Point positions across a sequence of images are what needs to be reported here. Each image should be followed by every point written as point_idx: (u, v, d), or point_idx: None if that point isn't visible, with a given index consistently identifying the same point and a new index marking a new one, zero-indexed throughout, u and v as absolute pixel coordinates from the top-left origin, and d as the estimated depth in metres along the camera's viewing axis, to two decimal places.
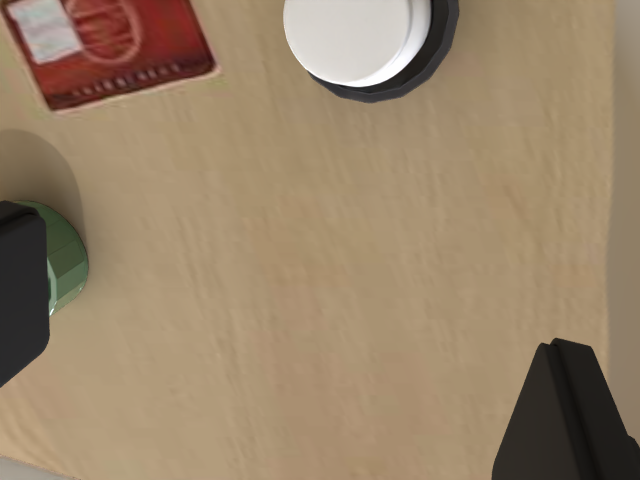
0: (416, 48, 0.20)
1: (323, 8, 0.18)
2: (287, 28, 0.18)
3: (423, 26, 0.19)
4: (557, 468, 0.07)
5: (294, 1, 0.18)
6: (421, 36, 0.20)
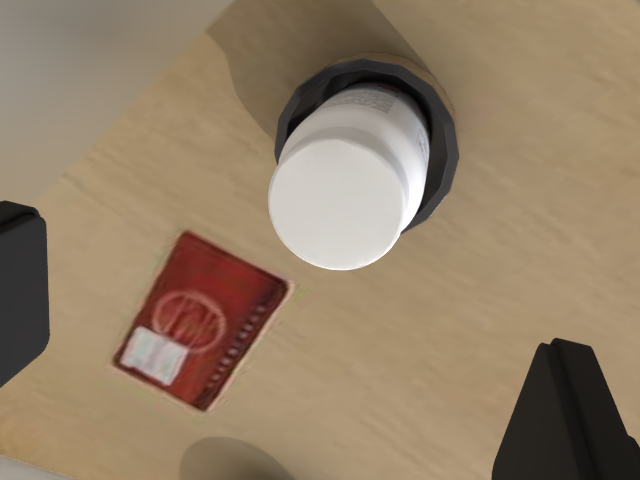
0: (419, 162, 0.17)
1: (311, 214, 0.16)
2: (298, 253, 0.17)
3: (408, 141, 0.17)
4: (557, 468, 0.07)
5: (284, 229, 0.17)
6: (414, 150, 0.17)
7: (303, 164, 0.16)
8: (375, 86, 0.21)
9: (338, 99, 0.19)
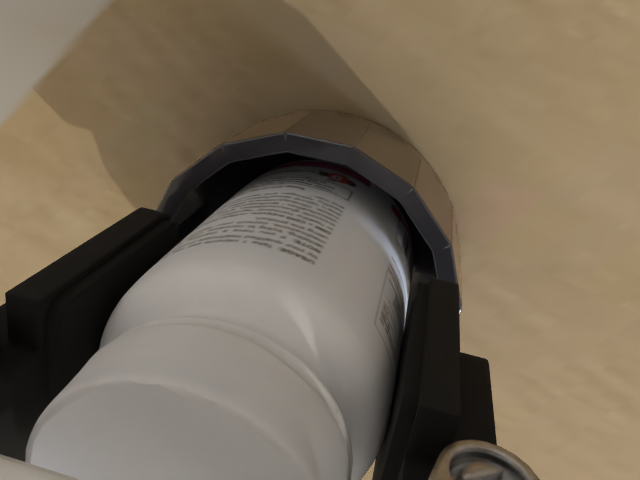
0: (378, 374, 0.08)
1: None
2: None
3: (353, 334, 0.08)
4: (402, 374, 0.09)
5: None
6: (367, 350, 0.08)
7: (88, 428, 0.07)
8: (314, 175, 0.12)
9: (230, 216, 0.10)
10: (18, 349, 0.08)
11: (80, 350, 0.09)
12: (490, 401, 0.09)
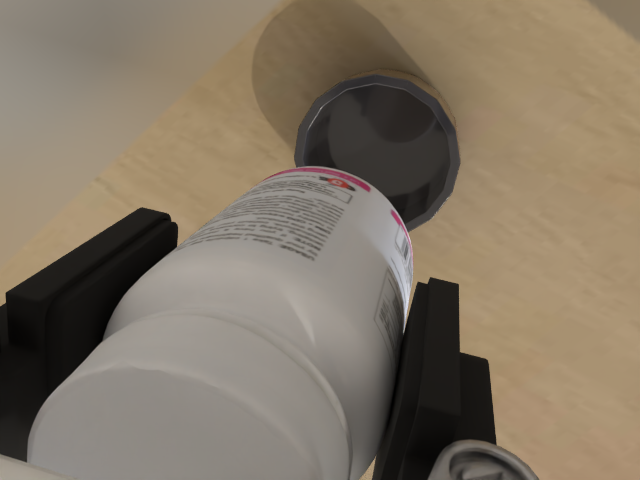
0: (378, 368, 0.08)
1: None
2: None
3: (353, 328, 0.08)
4: (402, 374, 0.09)
5: None
6: (366, 344, 0.08)
7: (90, 416, 0.07)
8: (314, 180, 0.12)
9: (231, 217, 0.10)
10: (18, 349, 0.08)
11: (80, 350, 0.09)
12: (490, 401, 0.09)
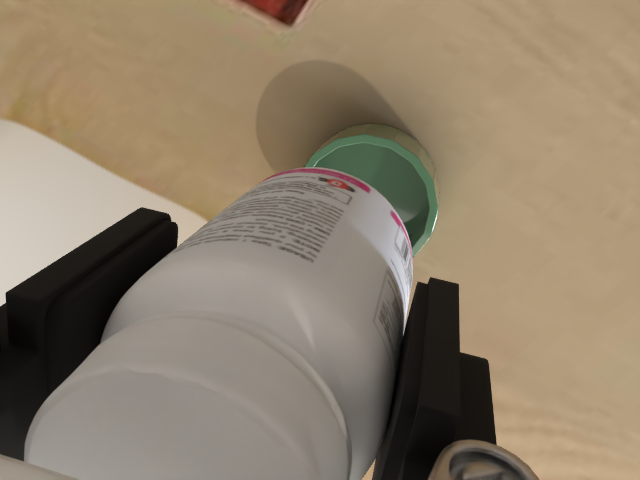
0: (377, 371, 0.08)
1: None
2: None
3: (352, 330, 0.08)
4: (402, 374, 0.09)
5: None
6: (366, 347, 0.08)
7: (87, 420, 0.07)
8: (314, 180, 0.12)
9: (230, 218, 0.10)
10: (18, 349, 0.08)
11: (80, 350, 0.09)
12: (490, 401, 0.09)
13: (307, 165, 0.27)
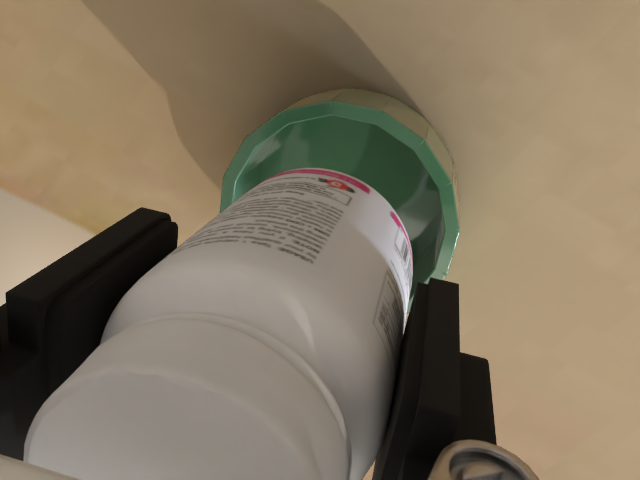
0: (377, 372, 0.08)
1: None
2: None
3: (352, 332, 0.08)
4: (402, 374, 0.09)
5: None
6: (365, 348, 0.08)
7: (87, 421, 0.07)
8: (313, 181, 0.12)
9: (230, 219, 0.10)
10: (18, 349, 0.08)
11: (80, 350, 0.09)
12: (490, 401, 0.09)
13: (238, 155, 0.16)
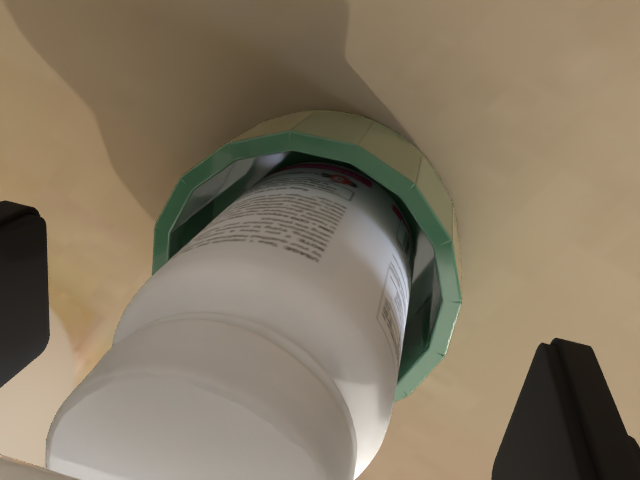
0: (381, 366, 0.09)
1: None
2: None
3: (356, 328, 0.08)
4: (557, 468, 0.07)
5: None
6: (370, 343, 0.08)
7: (106, 418, 0.07)
8: (316, 177, 0.12)
9: (236, 217, 0.10)
10: None
11: None
12: None
13: (172, 200, 0.12)
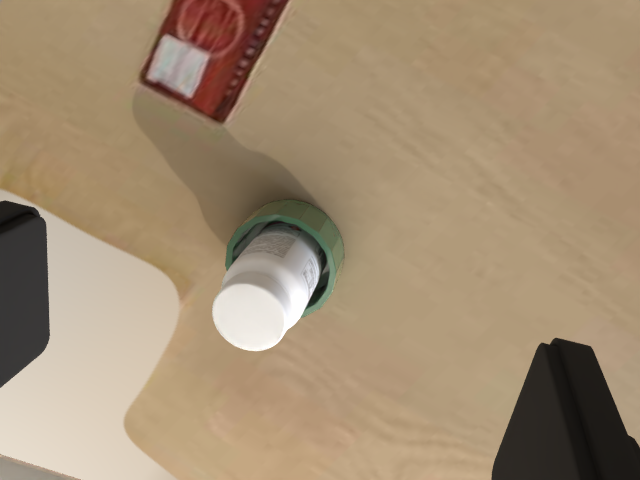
0: (300, 287, 0.30)
1: (236, 321, 0.29)
2: (230, 341, 0.30)
3: (293, 276, 0.30)
4: (557, 468, 0.07)
5: (222, 328, 0.30)
6: (297, 280, 0.30)
7: (230, 295, 0.29)
8: (286, 227, 0.34)
9: (258, 244, 0.32)
10: None
11: None
12: None
13: (234, 236, 0.34)
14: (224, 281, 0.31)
